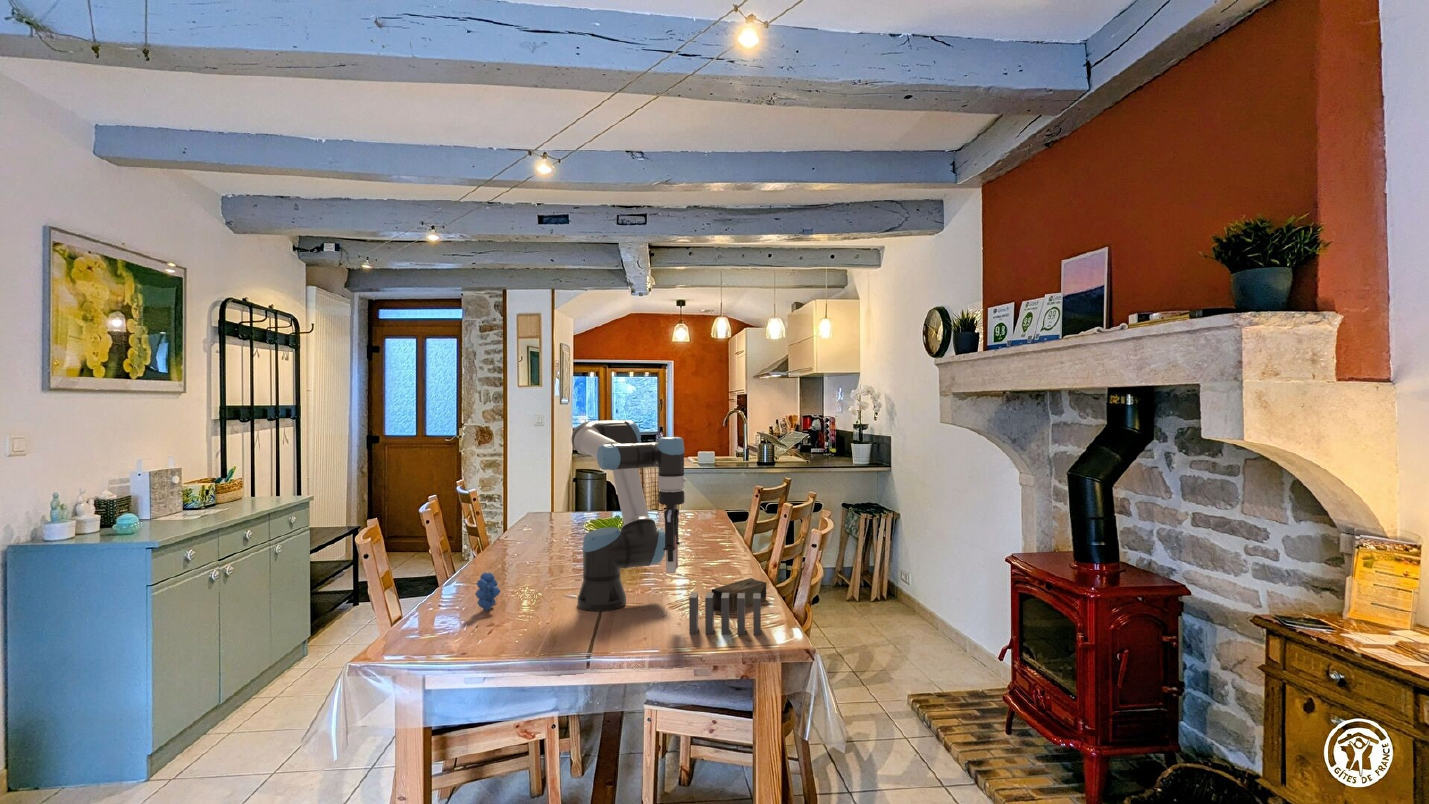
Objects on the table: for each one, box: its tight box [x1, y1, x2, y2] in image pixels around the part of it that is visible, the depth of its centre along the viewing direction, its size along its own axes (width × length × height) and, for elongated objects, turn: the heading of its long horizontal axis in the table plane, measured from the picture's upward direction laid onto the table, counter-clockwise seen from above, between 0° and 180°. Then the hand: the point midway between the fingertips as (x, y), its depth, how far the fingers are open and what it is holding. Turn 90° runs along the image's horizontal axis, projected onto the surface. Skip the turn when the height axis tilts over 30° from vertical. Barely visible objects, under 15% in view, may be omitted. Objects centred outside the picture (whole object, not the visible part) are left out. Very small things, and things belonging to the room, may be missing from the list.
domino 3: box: [720, 593, 730, 635], centre depth 191 cm, size 2×5×10 cm, turn 176°
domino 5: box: [752, 593, 762, 636], centre depth 190 cm, size 2×5×10 cm, turn 176°
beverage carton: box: [711, 577, 767, 614], centre depth 216 cm, size 8×19×7 cm, turn 139°
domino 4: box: [736, 593, 746, 636], centre depth 190 cm, size 2×5×10 cm, turn 176°
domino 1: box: [688, 592, 699, 635], centre depth 191 cm, size 2×5×10 cm, turn 176°
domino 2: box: [704, 592, 715, 635], centre depth 191 cm, size 2×5×10 cm, turn 176°
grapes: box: [475, 572, 502, 612], centre depth 210 cm, size 12×7×12 cm, turn 173°
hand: (672, 569), depth 200 cm, fingers closed on domino red, 5 cm apart
